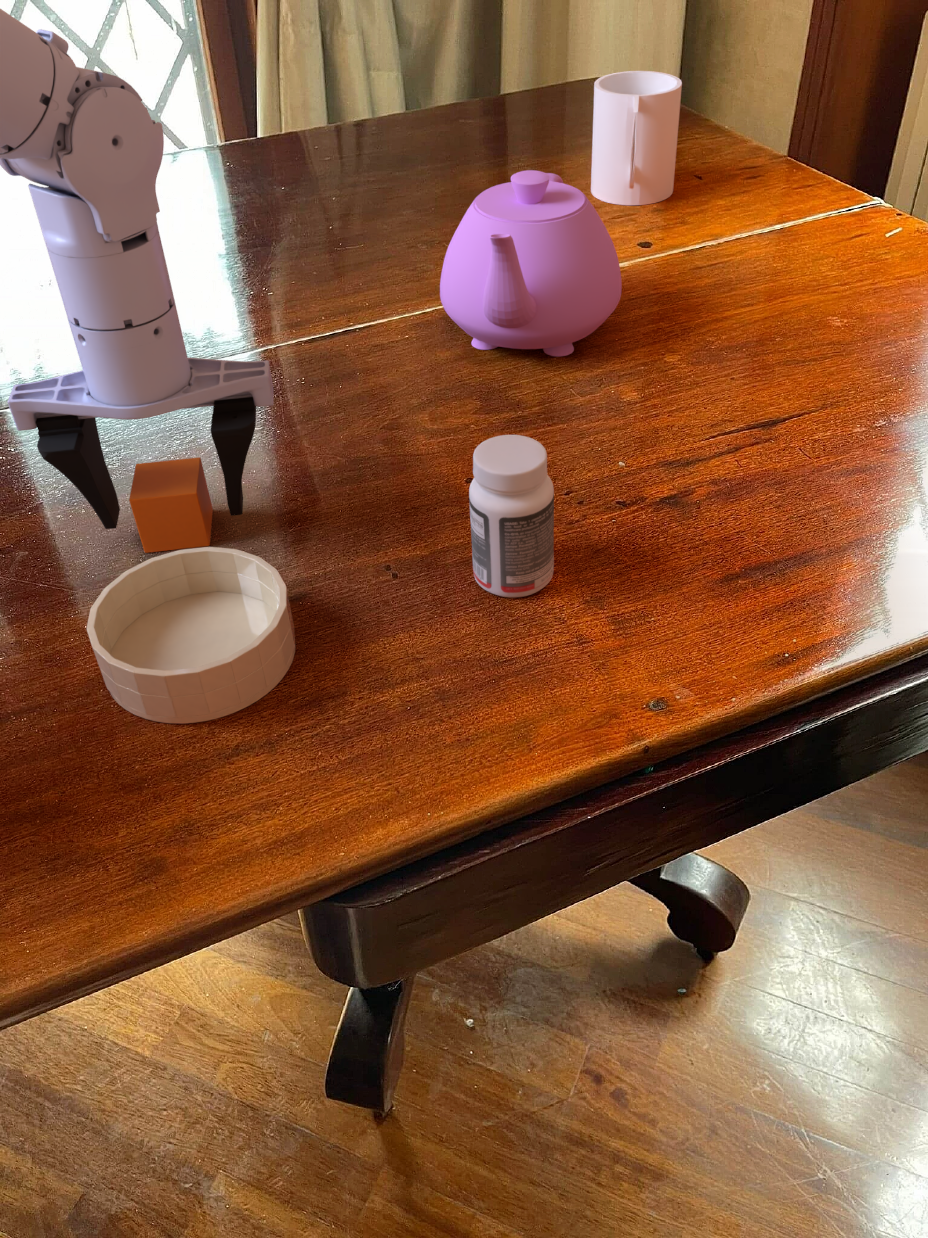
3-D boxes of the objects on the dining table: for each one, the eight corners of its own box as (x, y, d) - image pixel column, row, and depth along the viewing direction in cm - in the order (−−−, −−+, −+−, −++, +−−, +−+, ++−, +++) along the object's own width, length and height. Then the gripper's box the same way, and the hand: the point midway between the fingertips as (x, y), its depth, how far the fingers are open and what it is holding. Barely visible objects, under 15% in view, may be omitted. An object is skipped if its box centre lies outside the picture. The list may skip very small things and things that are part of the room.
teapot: (592, 405, 78) (599, 239, 70) (405, 386, 82) (391, 225, 74) (635, 287, 93) (645, 138, 85) (474, 275, 96) (469, 130, 88)
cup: (586, 219, 105) (589, 108, 98) (593, 175, 114) (596, 70, 107) (673, 220, 104) (682, 108, 97) (673, 175, 112) (681, 70, 106)
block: (144, 553, 67) (128, 499, 65) (150, 516, 70) (135, 463, 68) (209, 546, 68) (196, 492, 65) (213, 509, 71) (200, 456, 68)
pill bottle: (565, 560, 65) (568, 439, 60) (535, 608, 62) (535, 485, 56) (492, 542, 67) (488, 423, 61) (459, 588, 64) (452, 466, 58)
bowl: (92, 735, 56) (74, 686, 54) (116, 605, 64) (100, 557, 61) (296, 711, 57) (286, 661, 54) (295, 585, 64) (286, 537, 62)
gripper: (257, 265, 63) (291, 465, 72) (-2, 288, 62) (66, 489, 71) (254, 319, 57) (292, 528, 66) (-28, 346, 56) (48, 554, 65)
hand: (175, 512), depth 68 cm, fingers open, 7 cm apart
